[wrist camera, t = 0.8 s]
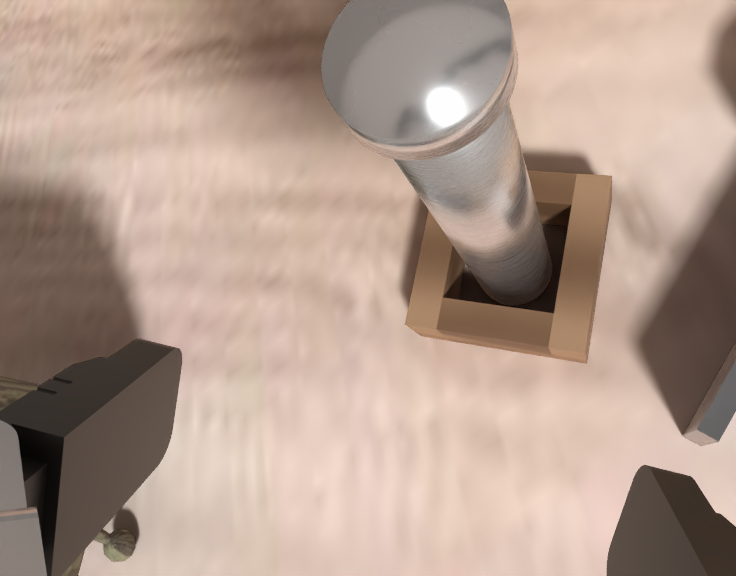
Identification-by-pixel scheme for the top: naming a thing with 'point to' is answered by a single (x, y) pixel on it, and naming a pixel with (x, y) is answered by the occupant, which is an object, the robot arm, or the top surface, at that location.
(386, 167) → the top surface
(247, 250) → the top surface
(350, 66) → the hinge pin
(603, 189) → the pin stand
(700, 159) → the top surface
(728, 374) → the hinge
